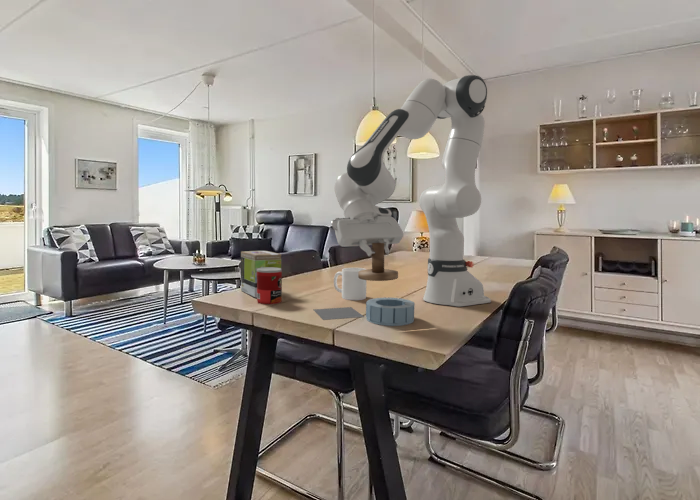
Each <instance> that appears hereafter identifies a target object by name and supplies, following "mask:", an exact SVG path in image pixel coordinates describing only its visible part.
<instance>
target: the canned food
mask: <svg viewBox="0 0 700 500" xmlns="http://www.w3.org/2000/svg"><path fill="white" fill-rule="evenodd" d="M282 278H283V271H282V267H281V268H275V267H264V268H258V269H257V298H256V301H257V304H262V305H275V304H279V303H281V302H282V301H283V300H282V298H283V295H282V294H283V290H282V289H283V288H282V287H283V284H282V283H283V279H282Z"/></svg>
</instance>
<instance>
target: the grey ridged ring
mask: <svg viewBox="0 0 700 500" xmlns="http://www.w3.org/2000/svg"><path fill="white" fill-rule="evenodd" d="M415 304H416V303H415V302H414V301H412V300H410V299H405V298H399V297H385V296H384V297H376V298H370V299H368V300H367V301H366V302H365V318H366V321H368V322H369V323H371V324H374V325H379V326H389V327H398V326H400V327H401V326H407V325H410V324H412V323H414V322H415V321H414V320H415V307H416V306H415Z"/></svg>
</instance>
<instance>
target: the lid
mask: <svg viewBox="0 0 700 500" xmlns="http://www.w3.org/2000/svg"><path fill="white" fill-rule="evenodd" d="M371 248H373V249H374V251H375V254H374V256H371V268H369V269H366V268H365V269H366V270H361V271H359V272H358V278H359V279H362V280H366V281H370V282H386V281H394V280H398V279H399V272H398V271H397V270H395V269H387V268H385V255H384V243H372V245H371Z"/></svg>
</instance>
